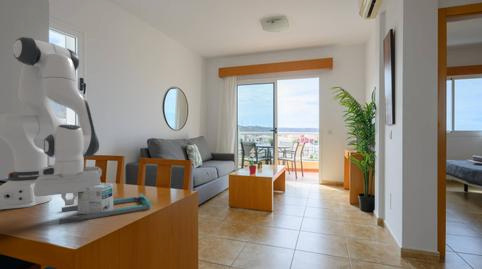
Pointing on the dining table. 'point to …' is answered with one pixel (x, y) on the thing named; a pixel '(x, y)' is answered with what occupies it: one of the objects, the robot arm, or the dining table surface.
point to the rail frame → (117, 211)
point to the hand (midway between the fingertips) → (69, 204)
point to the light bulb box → (96, 199)
